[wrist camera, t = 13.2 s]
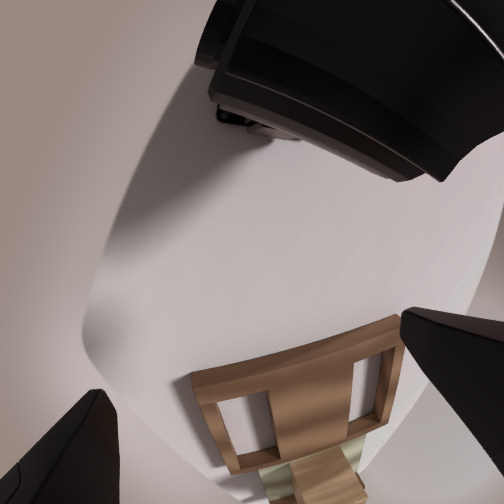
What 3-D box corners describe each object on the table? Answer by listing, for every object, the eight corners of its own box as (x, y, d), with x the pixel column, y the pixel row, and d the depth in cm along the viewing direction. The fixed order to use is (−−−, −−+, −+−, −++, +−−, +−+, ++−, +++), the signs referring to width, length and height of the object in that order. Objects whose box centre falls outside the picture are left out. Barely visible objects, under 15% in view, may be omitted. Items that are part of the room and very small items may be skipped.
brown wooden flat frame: (191, 372, 22) (194, 417, 18) (396, 313, 25) (428, 340, 21) (245, 497, 31) (253, 524, 27) (368, 457, 34) (382, 480, 30)
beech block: (289, 462, 27) (311, 518, 19) (339, 445, 27) (368, 496, 20) (293, 492, 30) (311, 537, 22) (334, 479, 31) (356, 520, 23)
